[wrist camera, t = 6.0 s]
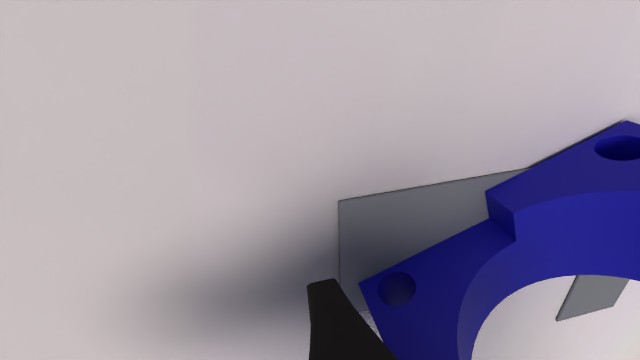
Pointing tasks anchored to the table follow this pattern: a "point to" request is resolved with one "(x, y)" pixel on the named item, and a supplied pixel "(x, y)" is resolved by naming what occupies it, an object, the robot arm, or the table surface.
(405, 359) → the cable clip
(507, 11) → the table surface
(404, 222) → the t marking
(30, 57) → the table surface
